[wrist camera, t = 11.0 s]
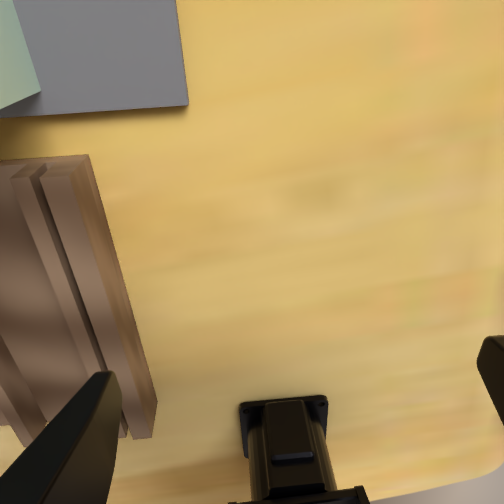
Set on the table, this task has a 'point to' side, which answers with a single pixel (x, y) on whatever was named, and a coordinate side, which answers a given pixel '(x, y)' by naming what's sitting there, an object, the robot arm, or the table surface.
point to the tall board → (14, 59)
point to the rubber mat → (101, 56)
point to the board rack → (63, 299)
